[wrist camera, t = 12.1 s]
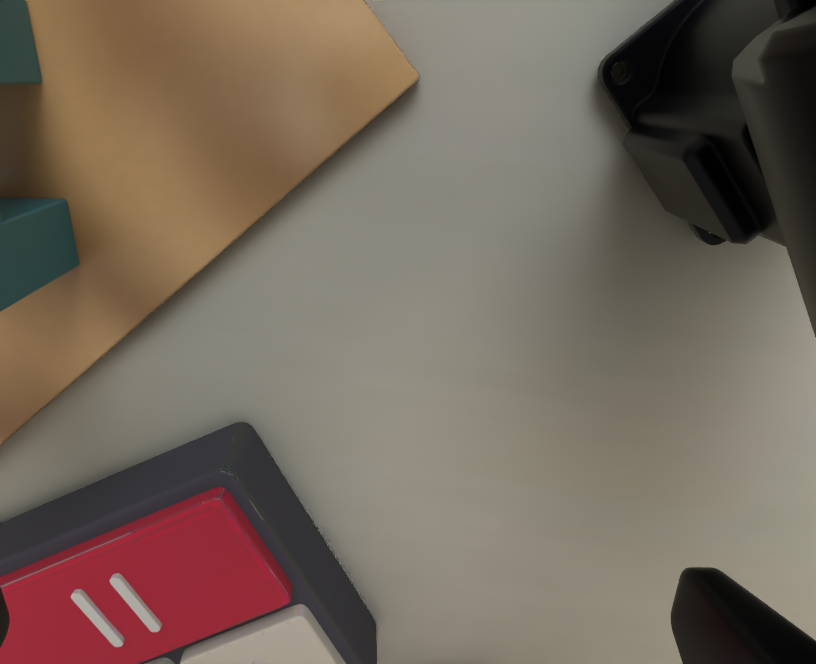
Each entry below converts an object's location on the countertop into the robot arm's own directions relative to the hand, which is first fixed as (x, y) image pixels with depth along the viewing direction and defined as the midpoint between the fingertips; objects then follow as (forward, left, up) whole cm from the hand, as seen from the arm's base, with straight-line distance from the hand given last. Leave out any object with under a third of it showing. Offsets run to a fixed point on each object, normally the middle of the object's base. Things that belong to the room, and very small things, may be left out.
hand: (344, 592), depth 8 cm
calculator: (+15, +4, -12) cm, 20 cm away
